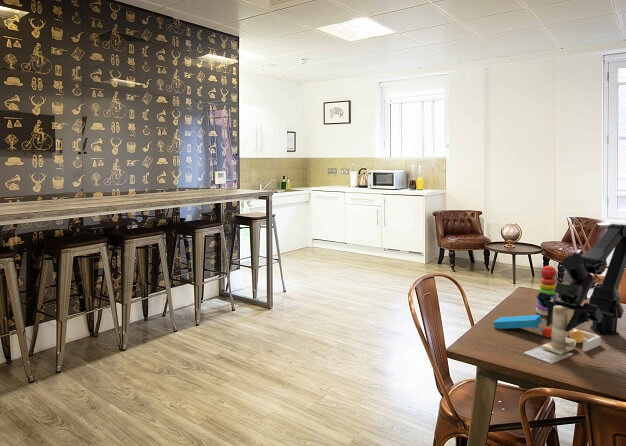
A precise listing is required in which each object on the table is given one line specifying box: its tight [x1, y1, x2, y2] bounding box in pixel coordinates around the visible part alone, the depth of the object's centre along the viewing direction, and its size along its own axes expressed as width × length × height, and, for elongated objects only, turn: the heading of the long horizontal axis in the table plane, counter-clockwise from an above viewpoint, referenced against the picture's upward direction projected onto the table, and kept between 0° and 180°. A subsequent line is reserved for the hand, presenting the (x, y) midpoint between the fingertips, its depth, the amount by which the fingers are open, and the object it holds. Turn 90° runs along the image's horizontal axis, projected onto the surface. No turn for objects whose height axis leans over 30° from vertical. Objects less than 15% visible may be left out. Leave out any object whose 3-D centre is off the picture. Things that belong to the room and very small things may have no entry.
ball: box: [568, 328, 585, 344], centre depth 157 cm, size 4×4×4 cm
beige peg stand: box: [541, 306, 577, 354], centre depth 151 cm, size 10×6×13 cm, turn 123°
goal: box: [566, 327, 602, 352], centre depth 157 cm, size 9×11×4 cm
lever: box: [492, 314, 552, 338], centre depth 168 cm, size 7×7×18 cm
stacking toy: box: [535, 265, 558, 317], centre depth 185 cm, size 8×8×19 cm
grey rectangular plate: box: [523, 345, 574, 365], centre depth 149 cm, size 12×9×1 cm
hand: (556, 328), depth 150 cm, fingers open, 6 cm apart
